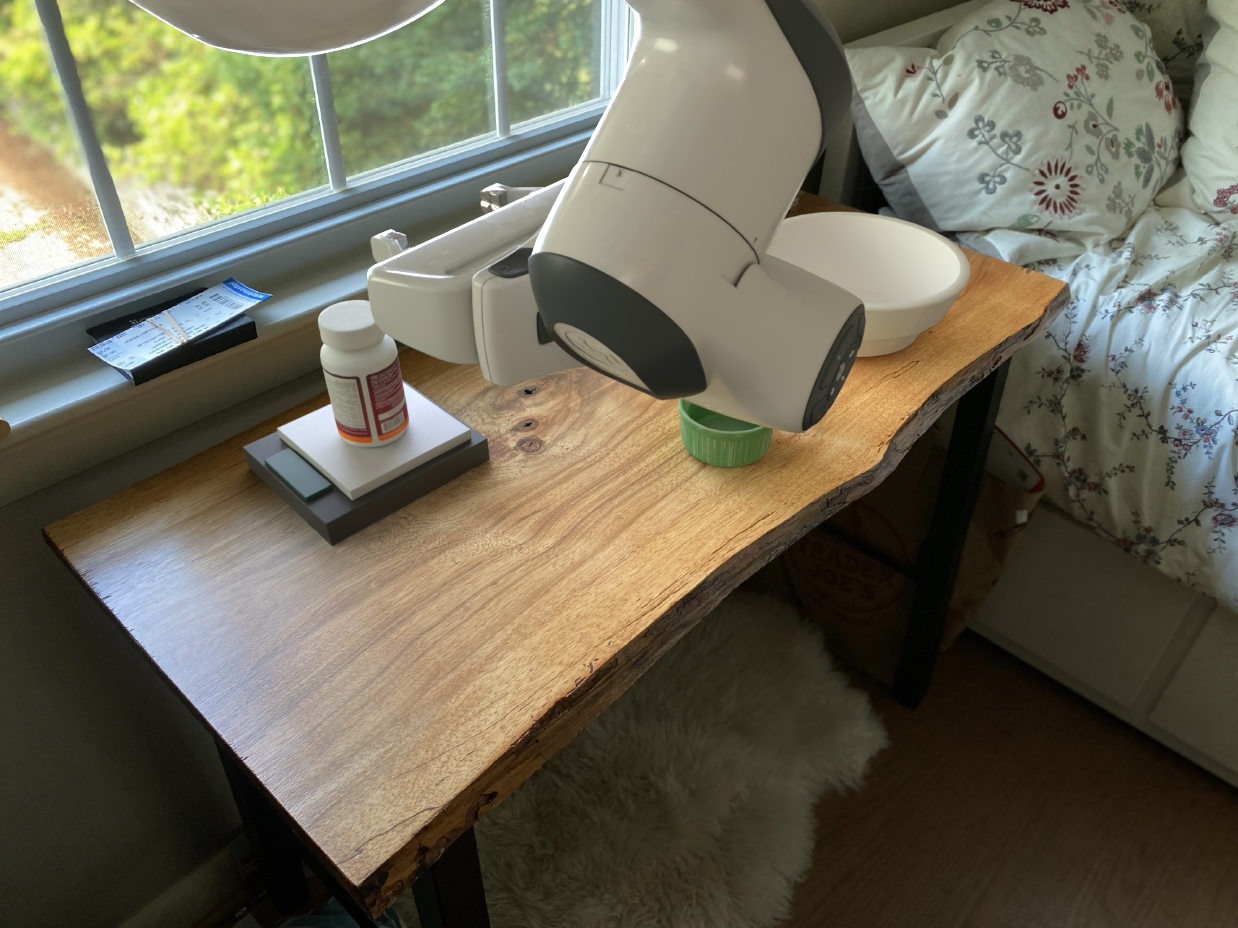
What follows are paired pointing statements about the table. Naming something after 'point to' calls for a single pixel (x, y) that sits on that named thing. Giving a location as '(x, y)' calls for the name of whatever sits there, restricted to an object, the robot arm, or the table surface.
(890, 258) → the bowl
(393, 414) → the pill bottle
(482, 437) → the scale
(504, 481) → the table surface
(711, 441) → the ramekin
